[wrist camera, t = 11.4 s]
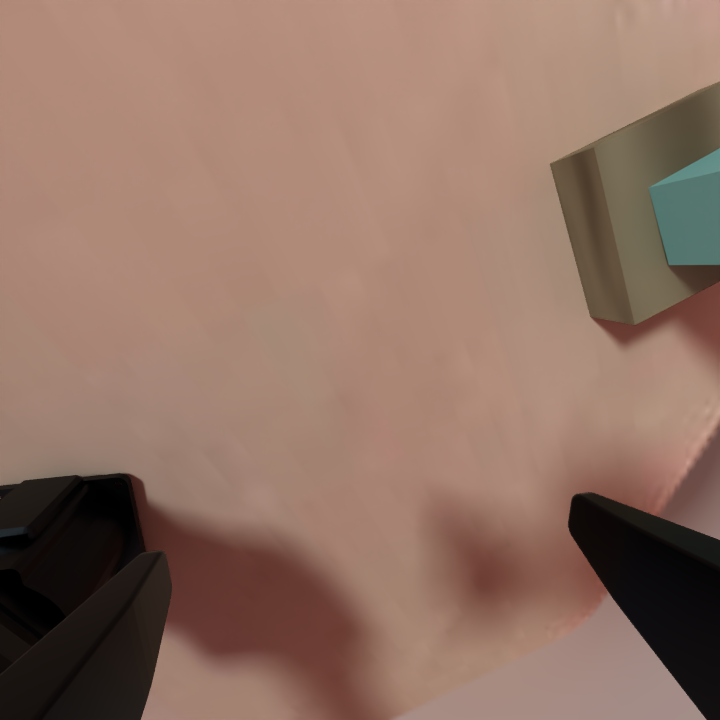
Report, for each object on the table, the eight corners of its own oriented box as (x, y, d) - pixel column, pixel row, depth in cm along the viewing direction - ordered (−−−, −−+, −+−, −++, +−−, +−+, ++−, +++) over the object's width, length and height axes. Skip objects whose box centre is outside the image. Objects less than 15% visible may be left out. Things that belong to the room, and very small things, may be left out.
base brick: (585, 315, 23) (634, 325, 20) (544, 165, 20) (594, 147, 17) (712, 250, 23) (782, 248, 20) (688, 94, 21) (765, 62, 17)
